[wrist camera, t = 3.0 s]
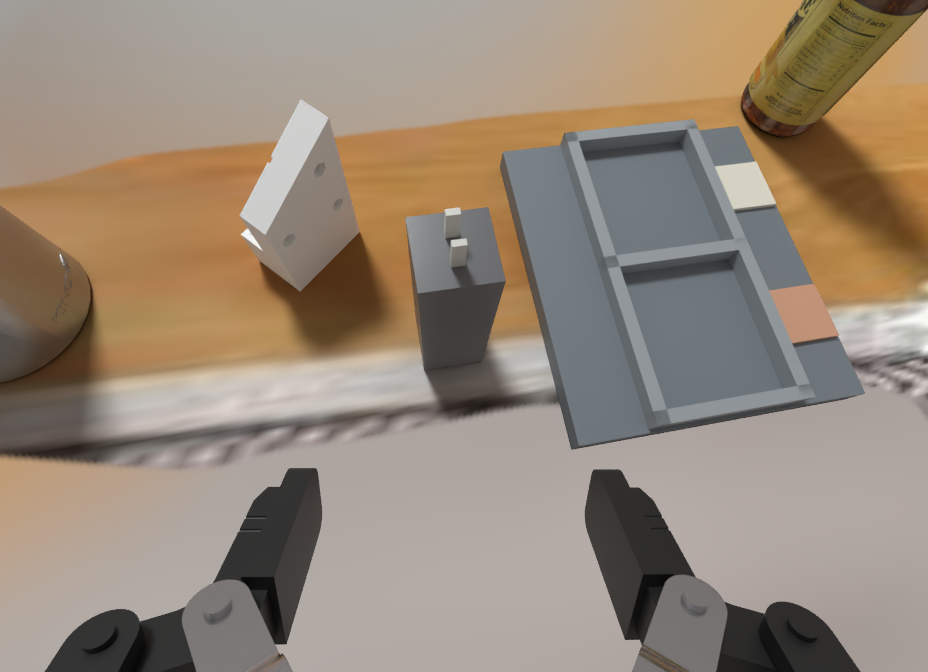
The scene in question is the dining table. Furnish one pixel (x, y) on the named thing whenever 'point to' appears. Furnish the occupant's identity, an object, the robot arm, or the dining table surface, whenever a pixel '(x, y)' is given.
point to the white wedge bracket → (301, 202)
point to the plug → (454, 284)
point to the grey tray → (667, 283)
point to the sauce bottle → (822, 59)
